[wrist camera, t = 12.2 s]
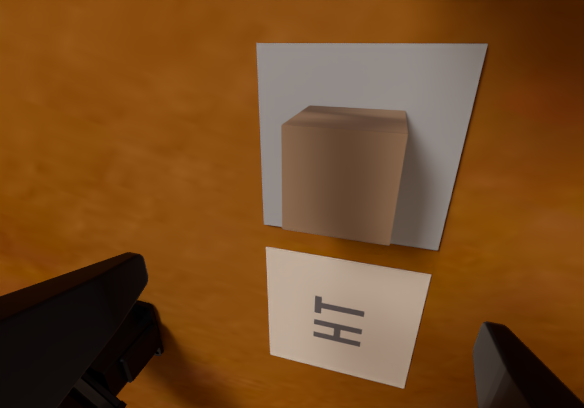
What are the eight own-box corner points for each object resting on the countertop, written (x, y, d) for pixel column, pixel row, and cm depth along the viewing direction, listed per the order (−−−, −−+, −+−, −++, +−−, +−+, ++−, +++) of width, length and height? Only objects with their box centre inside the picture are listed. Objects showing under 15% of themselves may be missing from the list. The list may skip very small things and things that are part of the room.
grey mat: (265, 222, 22) (263, 224, 22) (258, 43, 17) (256, 43, 17) (437, 247, 20) (437, 250, 19) (486, 43, 15) (487, 43, 14)
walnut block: (307, 189, 20) (282, 229, 16) (309, 105, 18) (281, 124, 13) (391, 199, 19) (389, 245, 14) (405, 110, 16) (408, 133, 12)
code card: (270, 353, 28) (270, 354, 28) (266, 246, 23) (265, 247, 23) (403, 387, 25) (403, 388, 25) (431, 274, 20) (431, 275, 20)
